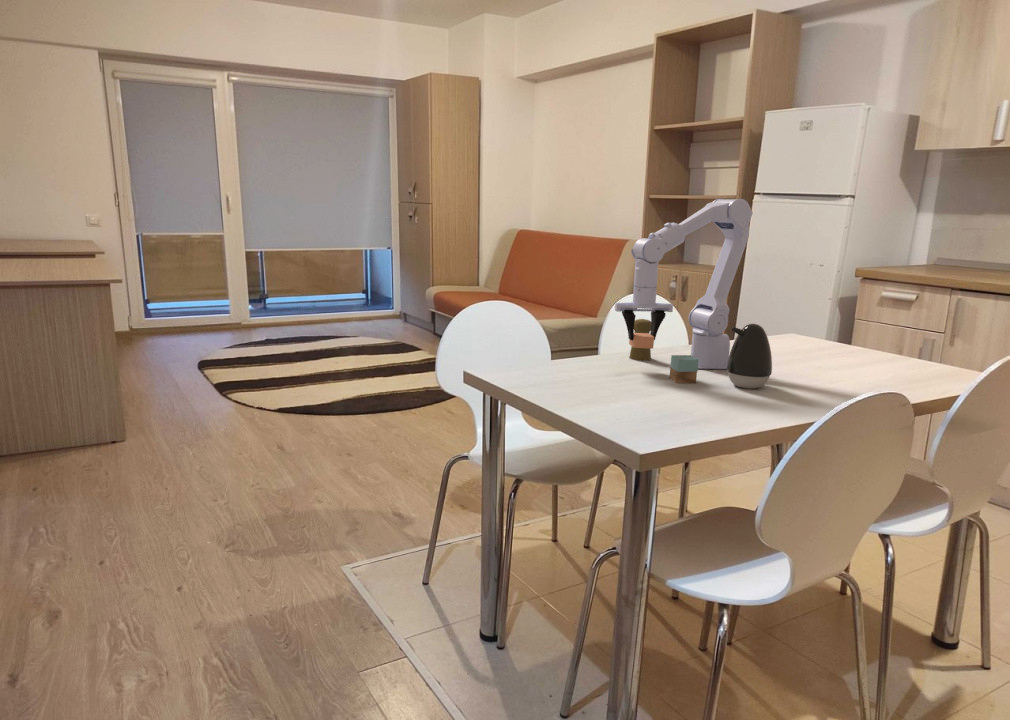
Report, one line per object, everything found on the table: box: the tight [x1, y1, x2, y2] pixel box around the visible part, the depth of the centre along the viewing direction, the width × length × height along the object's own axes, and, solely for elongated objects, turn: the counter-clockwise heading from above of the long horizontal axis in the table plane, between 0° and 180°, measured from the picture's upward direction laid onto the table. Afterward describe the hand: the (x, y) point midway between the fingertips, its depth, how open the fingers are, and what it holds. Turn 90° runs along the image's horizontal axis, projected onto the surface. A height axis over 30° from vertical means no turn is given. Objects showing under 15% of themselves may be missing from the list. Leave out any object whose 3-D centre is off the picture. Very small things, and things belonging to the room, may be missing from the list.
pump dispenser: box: [726, 323, 773, 390], centre depth 165 cm, size 10×10×15 cm
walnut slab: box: [669, 366, 698, 384], centre depth 170 cm, size 5×5×3 cm
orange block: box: [628, 332, 655, 350], centre depth 178 cm, size 5×5×3 cm
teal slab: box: [670, 354, 699, 373], centre depth 169 cm, size 5×5×3 cm
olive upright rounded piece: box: [628, 318, 652, 362], centre depth 193 cm, size 6×6×11 cm
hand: (641, 339), depth 178 cm, fingers closed on orange block, 5 cm apart
